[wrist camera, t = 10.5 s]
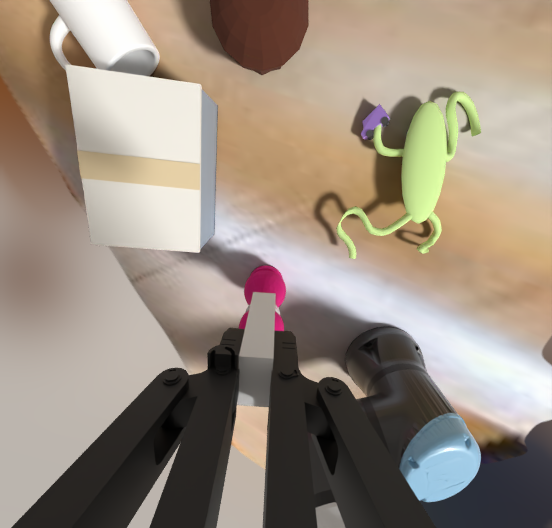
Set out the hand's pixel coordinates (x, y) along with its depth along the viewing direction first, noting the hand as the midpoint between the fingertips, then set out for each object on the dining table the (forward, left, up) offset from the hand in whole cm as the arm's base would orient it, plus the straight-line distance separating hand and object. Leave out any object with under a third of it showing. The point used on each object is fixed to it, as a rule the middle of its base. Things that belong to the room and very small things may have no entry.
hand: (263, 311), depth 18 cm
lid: (+7, +17, -20) cm, 27 cm away
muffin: (+26, +4, -30) cm, 40 cm away
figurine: (+9, -21, -31) cm, 38 cm away
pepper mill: (-11, 0, -30) cm, 32 cm away
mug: (+22, +25, -30) cm, 45 cm away
